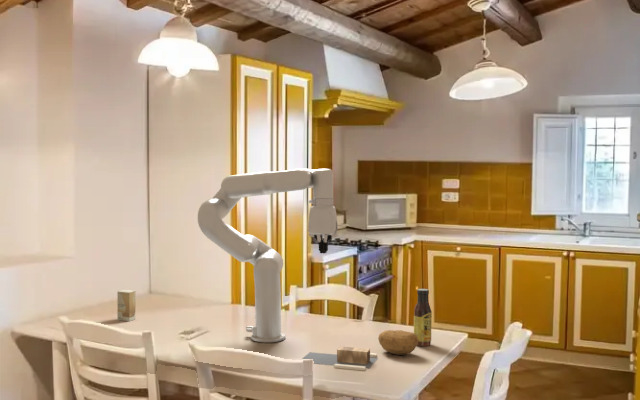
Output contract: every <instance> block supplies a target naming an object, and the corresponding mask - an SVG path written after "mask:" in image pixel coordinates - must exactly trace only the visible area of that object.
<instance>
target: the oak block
mask: <svg viewBox="0 0 640 400" xmlns="http://www.w3.org/2000/svg"><path fill="white" fill-rule="evenodd" d="M370 353H371V349H370V348H367V347H366V348H365V347H351V346H350V347H349V346H341V345H340V346H339V347H338V348H337V349H336V355H337V362H346V363H358V364H368V362H369V361H370Z"/></svg>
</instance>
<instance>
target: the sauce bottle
mask: <svg viewBox="0 0 640 400" xmlns="http://www.w3.org/2000/svg"><path fill="white" fill-rule="evenodd" d="M416 291H417V302H416V304H415V306H414V310H413V313H414V314H413V333H414V334H416V335H417V337H418V344H417V346H416V347H429V346H431V344H432V343H431V341H432V322H433V321H432V319H433V318H432V310H431V306H430V302H429V292H430V291H429V289H427V288H417V290H416Z"/></svg>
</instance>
